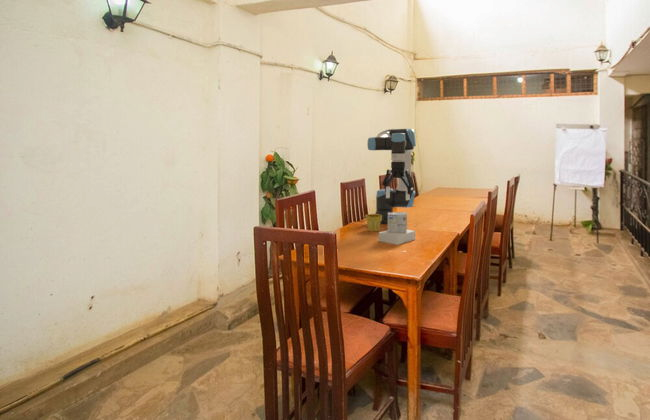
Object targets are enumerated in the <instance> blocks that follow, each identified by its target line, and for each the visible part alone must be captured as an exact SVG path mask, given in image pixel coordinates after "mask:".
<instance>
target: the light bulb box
mask: <svg viewBox="0 0 650 420" xmlns="http://www.w3.org/2000/svg"><path fill="white" fill-rule="evenodd" d="M387 230H388V233H407V230H408V215H407V212H393V213H388V223H387Z"/></svg>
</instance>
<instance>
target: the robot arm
mask: <svg viewBox="0 0 650 420" xmlns="http://www.w3.org/2000/svg"><path fill="white" fill-rule="evenodd" d="M416 141H417V140H416V133H415V130H414V128H396V129H395V128H392V129H391V128H390V129H386V130H383V131H381V132H379V133H378V134H377V135H376V137H374V136H373V137H368V139H367V149H368V151H373V152H374V151H391V155H390V156H391V158H390V160H391V163H390V168H391V169H386V174H385V176H384V179H383V181H382V183H381V185H382V186H383V187H384V188H381V189H379V190H376V196H375V198H376V211H375V213H374V214H379V215H382V221H381V223H380V224H388V213H394V208H412V207H414V201H415V195H416V191H415V190H414V188H415V184H414V182H413V179H412V151H413V150H414V148H415V147H416V145H417V142H416ZM396 178H397V179H398V182H397V186H396V188H395V190H394V188H393V187H392V188H391V186H390V185H391V184H392V182H393V181H394V179H396Z"/></svg>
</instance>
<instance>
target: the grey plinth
mask: <svg viewBox="0 0 650 420" xmlns="http://www.w3.org/2000/svg"><path fill="white" fill-rule="evenodd" d="M415 240H416V230H411V229H407V233H388V229H387V230H384V231H379V232H378V242H381V243H387V244H390V245H396V246H399V245H402V244H404V243H408V242H411V241H415Z"/></svg>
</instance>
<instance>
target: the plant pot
mask: <svg viewBox="0 0 650 420" xmlns="http://www.w3.org/2000/svg"><path fill="white" fill-rule="evenodd" d="M381 221H382V215H379V214H375V213H370V214H366V215H365V222H366V226H367V229H368V231H370V232H378V231H379V230H380V226H381V224H382V223H381ZM379 232H380V231H379Z"/></svg>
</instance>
